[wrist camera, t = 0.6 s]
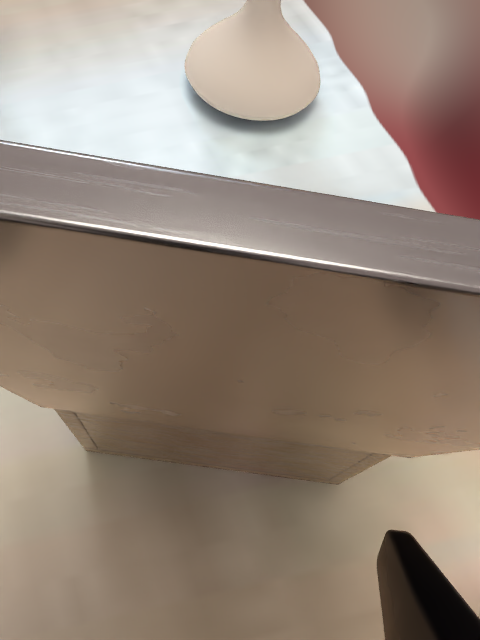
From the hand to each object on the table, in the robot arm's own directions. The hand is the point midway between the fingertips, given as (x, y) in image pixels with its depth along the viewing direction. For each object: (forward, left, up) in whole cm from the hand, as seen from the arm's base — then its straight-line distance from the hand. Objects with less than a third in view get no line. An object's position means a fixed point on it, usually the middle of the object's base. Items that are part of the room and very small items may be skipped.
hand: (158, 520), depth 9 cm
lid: (+3, -2, 0) cm, 4 cm away
